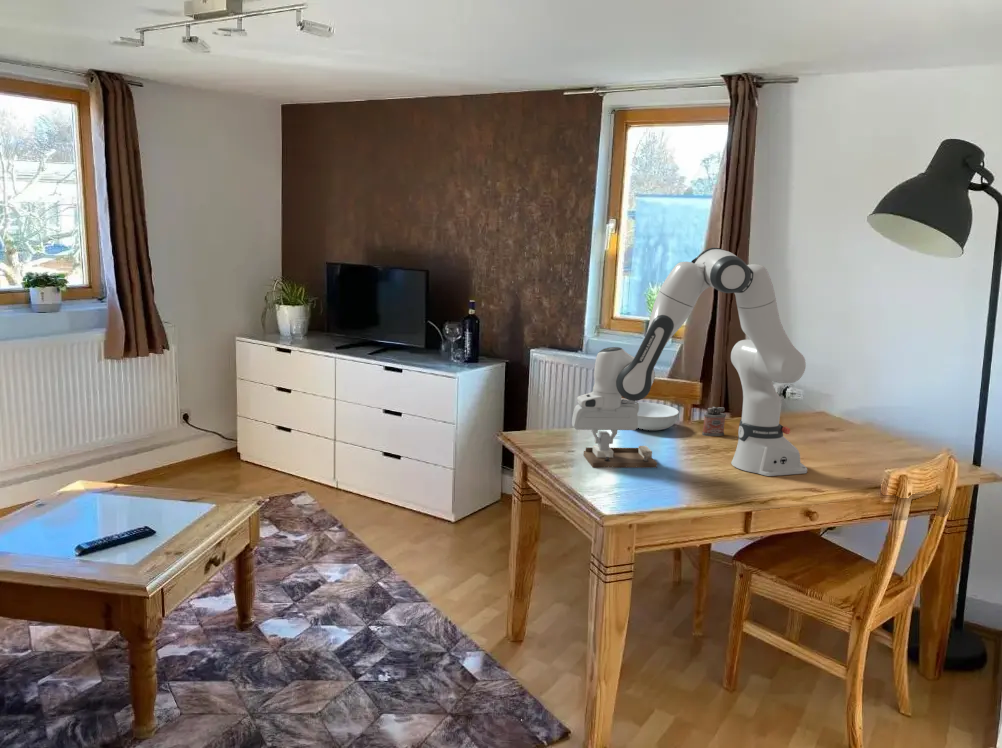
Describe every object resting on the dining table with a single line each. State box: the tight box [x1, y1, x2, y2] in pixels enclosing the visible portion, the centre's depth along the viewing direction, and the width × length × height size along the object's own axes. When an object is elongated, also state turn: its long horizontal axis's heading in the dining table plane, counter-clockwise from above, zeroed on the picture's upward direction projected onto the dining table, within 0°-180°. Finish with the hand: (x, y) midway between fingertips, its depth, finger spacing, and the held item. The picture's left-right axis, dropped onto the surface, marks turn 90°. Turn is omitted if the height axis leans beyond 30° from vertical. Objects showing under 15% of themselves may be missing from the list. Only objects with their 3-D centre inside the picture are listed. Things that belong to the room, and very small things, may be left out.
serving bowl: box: [634, 401, 680, 432], centre depth 289 cm, size 21×21×7 cm
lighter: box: [701, 406, 727, 437], centre depth 283 cm, size 8×3×10 cm, turn 104°
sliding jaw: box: [592, 430, 614, 460], centre depth 246 cm, size 5×9×7 cm, turn 8°
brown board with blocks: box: [582, 445, 658, 469], centre depth 248 cm, size 20×12×4 cm, turn 98°
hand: (603, 443), depth 248 cm, fingers closed on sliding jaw, 2 cm apart
